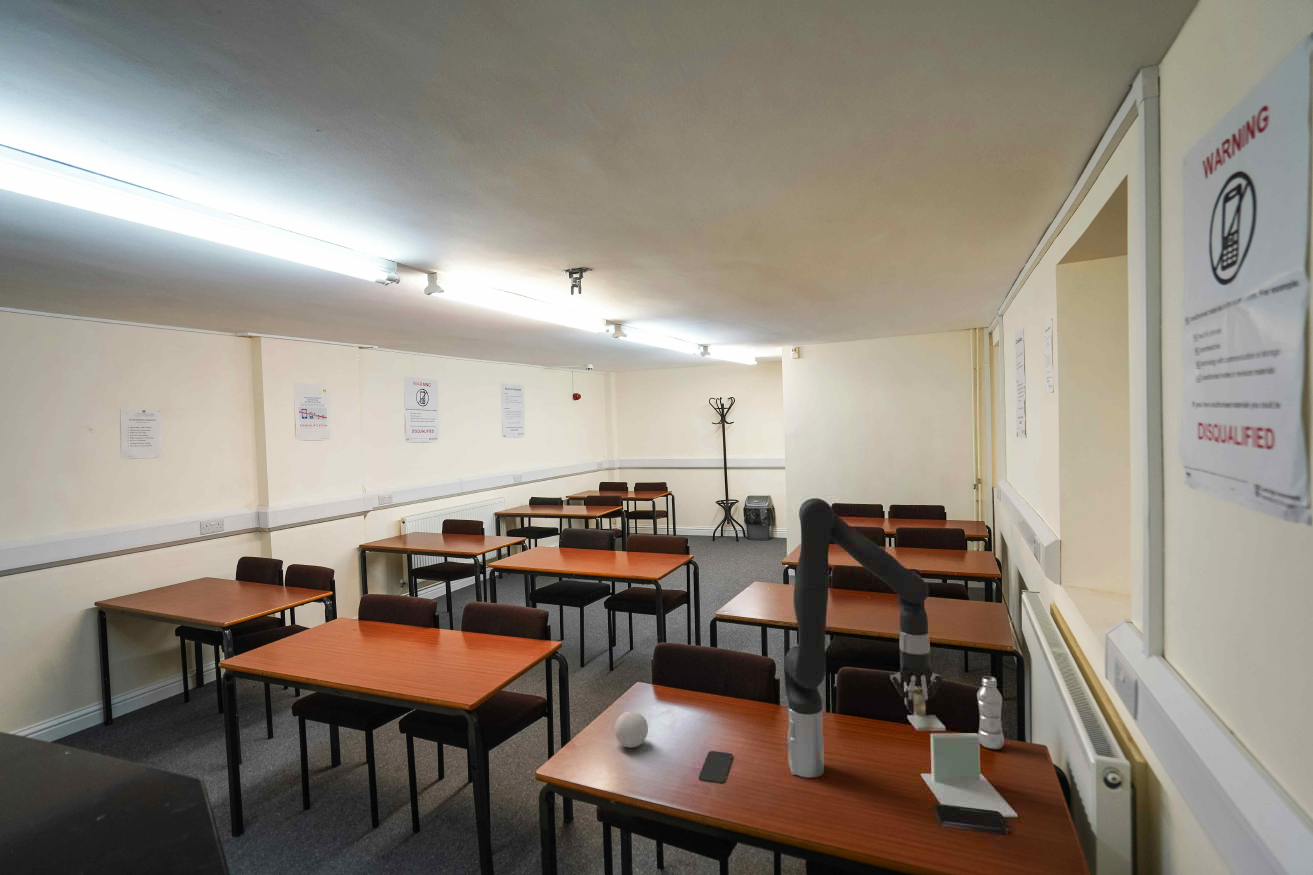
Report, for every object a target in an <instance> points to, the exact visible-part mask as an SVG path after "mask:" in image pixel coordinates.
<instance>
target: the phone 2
mask: <svg viewBox="0 0 1313 875" xmlns="http://www.w3.org/2000/svg"><path fill="white" fill-rule="evenodd" d="M933 810H934V814H935V817H936V820H937V823H938V824H939V825H940V826H941V827H945V828H953V829H960V830H961V829H962V830H968V831H976V832H982V833H983V832H984V833H991V834H999V835H1009V832H1010V831H1009V830H1010V828H1009V826H1008V825H1007V822H1006V820H1005V817H1003V816H1002V814H1001V813H1000V812H998V811H993V810H985V809H976V808H968V807H960V806H952V805H944V804H941V803H934V804H933Z"/></svg>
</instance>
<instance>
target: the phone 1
mask: <svg viewBox="0 0 1313 875" xmlns="http://www.w3.org/2000/svg"><path fill="white" fill-rule="evenodd" d="M733 758H734V755H733V754H732V753H731V752H723V751H716V750H710V751H708V752H707V755H706V757H705V759H704V762H703V765H702V767H701V770H700V773H699V775H698V780H700V781H702V782H706V783H707V782H708V783H709V782H710V783H716V784H724V783H726V780H727V778H728V774H729V771H730V768H731V766H732V762H733Z"/></svg>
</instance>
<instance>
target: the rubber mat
mask: <svg viewBox="0 0 1313 875" xmlns="http://www.w3.org/2000/svg"><path fill="white" fill-rule="evenodd" d="M920 776H921V778H922V779H923V780H924V782H925V783H926V785H927V786H928V787H929V789H930V791H931V792H932V793H933V795H934V796H935V797H936V799H937V801H938V802H939V804H944V805H952V806H960V807H968V808H976V809H985V810H993V811H998V812H1000V813H1001V814H1002V816H1003V818H1019V815H1018V814H1017V812H1016V811H1015V810H1014V809H1013V808H1012V807H1011V806H1010V804H1008V802H1006V800H1005V799H1004V798H1003V797H1002V795H1001V794H1000V793H999V791H997V790H996V788H994V786H993V785H992V784H991V783H990V782H989V781H988V779H987V778H985V776H984V775H983V774H982V773H980V780H981V782H934V781H933V779H932V773H920Z"/></svg>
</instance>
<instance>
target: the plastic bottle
mask: <svg viewBox="0 0 1313 875" xmlns="http://www.w3.org/2000/svg"><path fill="white" fill-rule="evenodd" d="M997 686H998V685H997V678H995V677H994V676H989V675H988V676H986V675H984V676H982V677H981V686H980V688H979V689H978V691H977V693H976V698H977V704H978V710H979V712H978V713H979V728H978V731H977V732H978V733H977V734H978V735H979V741H980V744H981V745H982V746H983V747H984V748H987V749H990V750H1000V749H1002V748H1003V746H1004V742H1005V738H1004V737H1005V736H1004V733H1003V727H1002V718H1001V717H1002V706H1003V697H1002V694H1001V693H1000V691H999V689H998V688H997Z"/></svg>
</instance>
